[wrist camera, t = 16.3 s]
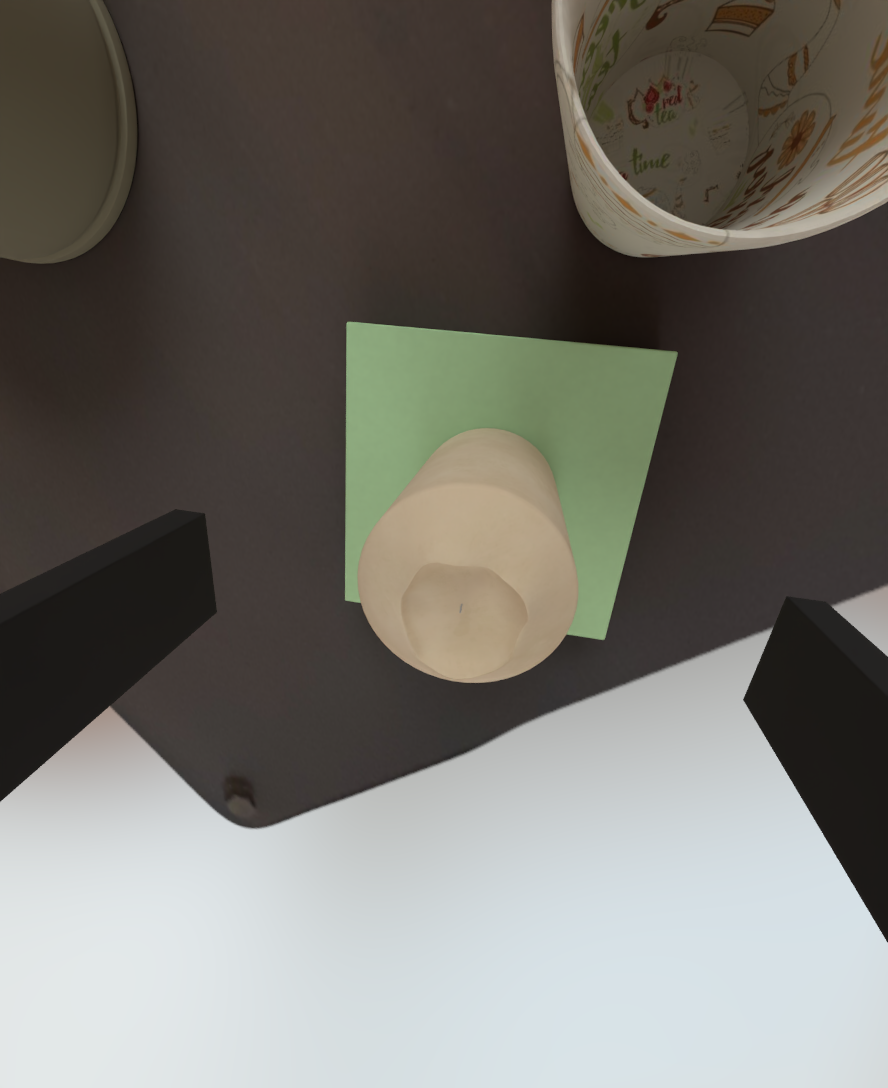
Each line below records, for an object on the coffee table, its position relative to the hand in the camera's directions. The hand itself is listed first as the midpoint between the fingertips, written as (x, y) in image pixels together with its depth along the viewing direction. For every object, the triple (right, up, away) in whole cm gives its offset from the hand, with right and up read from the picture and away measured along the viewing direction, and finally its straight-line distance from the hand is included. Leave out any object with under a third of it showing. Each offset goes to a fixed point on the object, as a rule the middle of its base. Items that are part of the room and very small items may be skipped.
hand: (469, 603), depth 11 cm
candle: (+1, +4, +9) cm, 10 cm away
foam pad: (+1, +4, +11) cm, 12 cm away
